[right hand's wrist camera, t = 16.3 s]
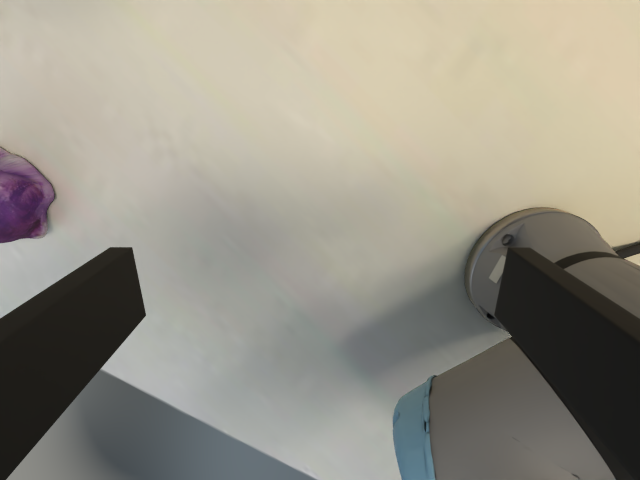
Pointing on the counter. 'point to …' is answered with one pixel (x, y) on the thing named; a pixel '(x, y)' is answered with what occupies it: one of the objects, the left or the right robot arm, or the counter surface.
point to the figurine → (22, 199)
